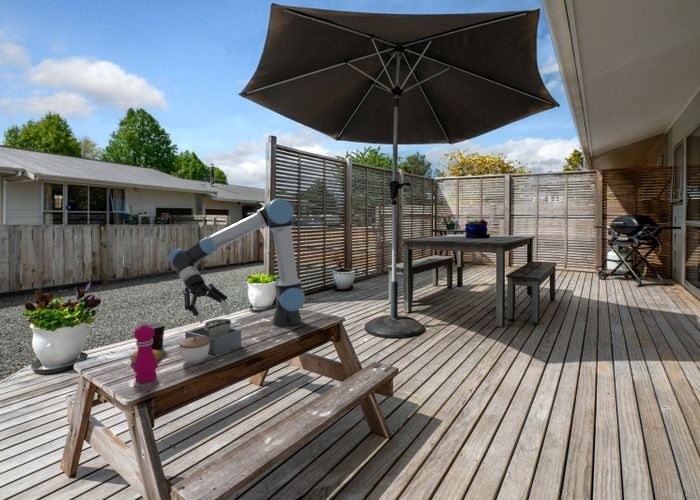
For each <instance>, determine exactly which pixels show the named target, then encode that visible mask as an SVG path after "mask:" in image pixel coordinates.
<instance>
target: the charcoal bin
mask: <svg viewBox="0 0 700 500" xmlns="http://www.w3.org/2000/svg"><path fill="white" fill-rule="evenodd" d="M184 334H185V338H184V339H187V338H191V337H194V336H196V337H207V338H209V339H210V348H209V353H208V355H209V356H213V357H216V356H220V355H221V354H224V353H227V352H230V351H232V350H234V349H237V348H240V347H242V329H237V328H232V327H230V333H228V334H225V335H222V336H219V337H216V338H213V337H209V336H207V335H206V330H204V326H201V327H198V328H194V329H191V330H187V331H185V333H184ZM208 355H207V356H208Z"/></svg>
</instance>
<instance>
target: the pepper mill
mask: <svg viewBox="0 0 700 500" xmlns="http://www.w3.org/2000/svg"><path fill="white" fill-rule="evenodd" d="M147 324H148V322H147V321H145V320H143V321H142V322H141V323H140V325H139V326H138V327H137V328H136V329H135V330H134V332H133V337H134V339H135V340H136V341H135V346H137V351H138V354H137V357H136V360H135V362H134V363H133V367H132V370H133V372H134V373H135V376H134V377H135V379H134V381H135V382H136V383H138V382H139V383H140V384H141V383H142V384H143V382H145V383H147V382H148V383H149V382H151V381H154V380H155V379H156V378H157V371H156V370H157V368H158V367H159V366H158V361H157V360H156V358H155V356H154V354H153V351H152V344H153V339H152V337H153V336H154V329H153V328H152V327H151V326H148V325H147Z"/></svg>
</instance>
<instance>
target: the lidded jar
mask: <svg viewBox="0 0 700 500" xmlns="http://www.w3.org/2000/svg"><path fill="white" fill-rule="evenodd" d="M209 348H210V339H209V338H207V337H196V336H194V337H191V338H187V339H185V338H184V339H182V340H181V341H179V350H180V355H181V357H182V359H184V361H186V363H187V364H199V363H201V362H203V361H205V359H206V358H207V356H208V353H209Z"/></svg>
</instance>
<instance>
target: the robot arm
mask: <svg viewBox="0 0 700 500" xmlns="http://www.w3.org/2000/svg"><path fill="white" fill-rule="evenodd" d="M293 215H294V209H293V206H292V204H291V203H290V202H289V201H288V200H287V199H284V198H274V199H272V200H271V201H269V202H268V203H267V204H266V205H264V206H262V207H261V208H260V209H257V211H256V213H254V214H251V215H250V216H247V217H246V218H243V219H241V220H239V221H238V222H237V221H236V223H233V224H231V225H229V226H227V227H225V228H223V229H220V230H219V231H217V232H215V233H213V234H210V235H209V236H205V237H203V238H202V239H200V240H198V241H197V242H196V243H194V244H192V245H191V246H189V247H188V248H186V249H184V248H179V247H178V248H177V249H173V250H172V251H170V253H169V256H168V259H169V261H170V263H171V266H172V267H173V268H174V271H176V273H177V275H178V276H179V278H180V279H181V281H182V283H184V286H185V288H184V289H183V291H182V294H183V296H184V297H183V298H184V310H185V311H188V312H192V314H193V316H194V317H196V318H197V320H198V322H199V323H200V324H202V323H203V322H204V321H205V320H206V319H205V317H204V315H203V313H202V312H201V310H200V309H199V307H198V306H196V303H197V299H198V298H201V297H207V298H208V297H209V298H210V299H212V300H214V301H216V302H218V303H219V306H220V307H221V309H222V311H223V312H224V314H225V316H229V315H230V314H231V313H232V311H231V309H230V307H229V304H228V303H227V301H226V300H227V299H228V296H227V295H226V294H224V293H223V292H222V291H220V290H219V289H218V288H216V286H214V284H213V283H210V284H209V285H206V283H205V280H204V278H203V277H202V275H201V273H200V272H199V270H198V269H197V267H196V264H197V263H199V262H201V261H202V260H203V259H205V258H206V257H208V256H209V255H212V254H213V253H215V252H217V250H219V249H221V248H223V247H225V246H227V245H229V244H231V243H233V242H236V241H237V240H240V239H242V238H244V237H245V236H248V235H249V234H252V233H253V232H256V231H258V230H260V229H261V228H264V227H265V228H268V229H269V230H270V231H271V232H272V234H273V241H274V249H275V254H276V257H275V258H276V263H277V269H278V277H279V280H277V281H276V282H275V305H276V306H275V312H274V315H273V318H272V325H274V326H276V327H281V328H282V327H284V328H286V327H287V328H289V327H296V326H299V325H301V324H302V323H303V318H302V316H301V313H300V312H301V311H300V309H301V308H302V307H303V306H304V304H305V302H306V301H305V300H306V297H305V296H306V295H305V293H304V290H303V285H302V280H301V279H299V278H298V272H297V271H298V270H297V265H296V258H295V250H294V249H295V248H294V243H293V235H292V229H293V227H294V219H293ZM191 294H192V298H191Z"/></svg>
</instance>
